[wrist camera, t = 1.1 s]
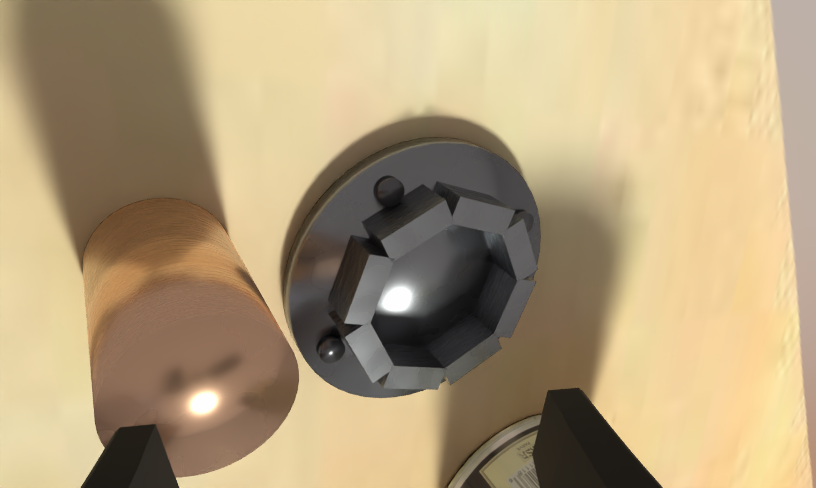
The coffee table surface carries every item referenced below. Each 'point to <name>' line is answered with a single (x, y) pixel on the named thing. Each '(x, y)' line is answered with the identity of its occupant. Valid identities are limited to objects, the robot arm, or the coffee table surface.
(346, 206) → the flange
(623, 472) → the robot arm
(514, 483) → the coffee can
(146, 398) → the pipe stub
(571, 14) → the coffee table surface
